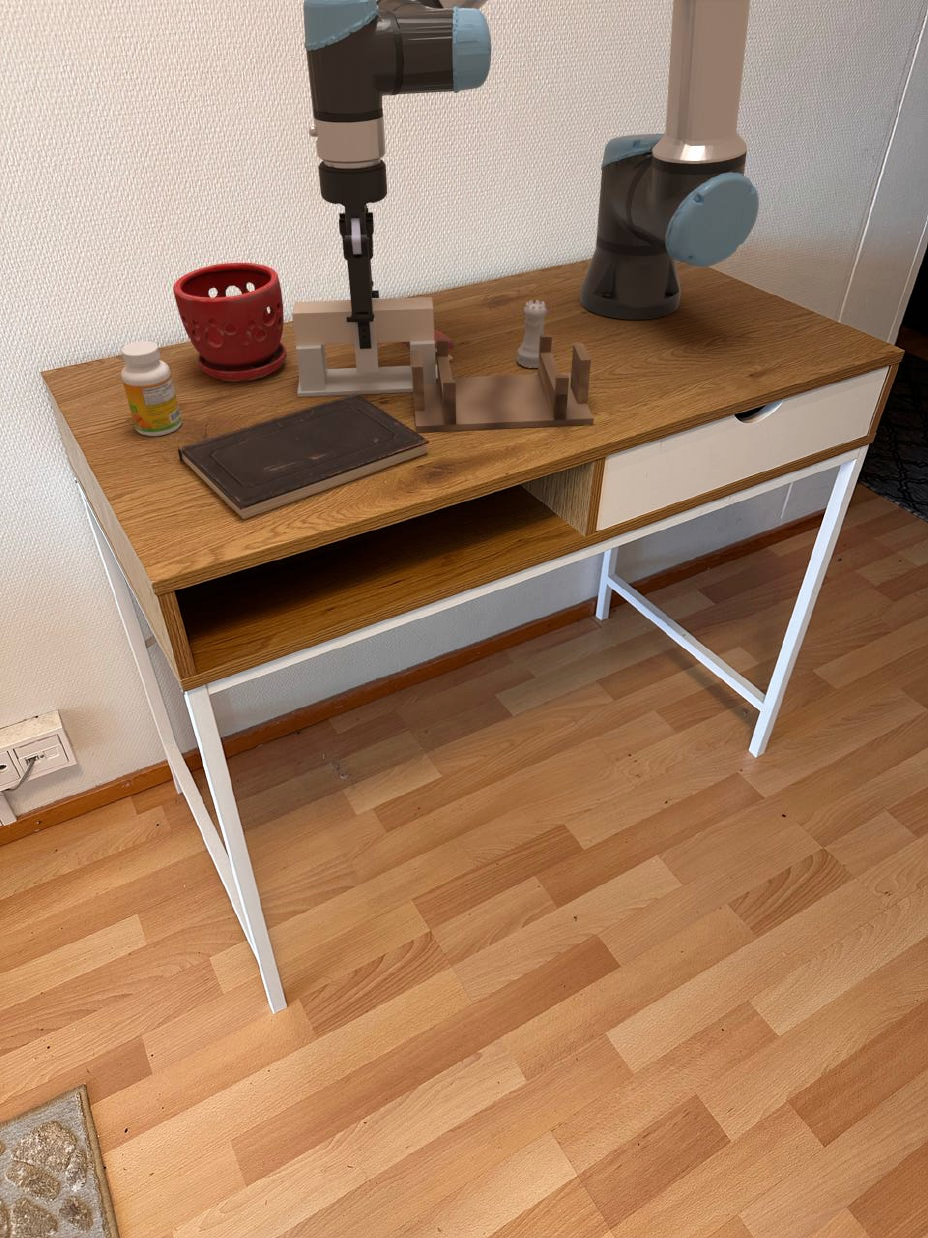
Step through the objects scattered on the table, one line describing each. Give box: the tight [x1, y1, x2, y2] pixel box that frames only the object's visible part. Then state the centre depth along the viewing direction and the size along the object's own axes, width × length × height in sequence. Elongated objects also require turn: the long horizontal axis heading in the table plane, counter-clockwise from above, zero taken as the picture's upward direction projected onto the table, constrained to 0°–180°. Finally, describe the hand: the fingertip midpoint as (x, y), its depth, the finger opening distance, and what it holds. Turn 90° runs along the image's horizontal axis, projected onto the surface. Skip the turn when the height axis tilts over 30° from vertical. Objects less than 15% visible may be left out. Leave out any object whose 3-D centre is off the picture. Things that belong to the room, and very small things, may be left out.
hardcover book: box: [177, 393, 430, 520], centre depth 98 cm, size 16×23×2 cm
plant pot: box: [172, 262, 287, 382], centre depth 114 cm, size 13×13×12 cm
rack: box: [411, 333, 595, 433], centre depth 107 cm, size 21×13×6 cm, turn 95°
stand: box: [295, 341, 438, 398], centre depth 112 cm, size 18×7×6 cm, turn 95°
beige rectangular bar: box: [291, 296, 435, 346], centre depth 109 cm, size 17×4×4 cm, turn 95°
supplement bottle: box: [120, 340, 182, 437], centre depth 101 cm, size 5×5×10 cm
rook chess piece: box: [516, 299, 549, 368], centre depth 116 cm, size 4×4×8 cm
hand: (367, 360), depth 112 cm, fingers open, 5 cm apart
